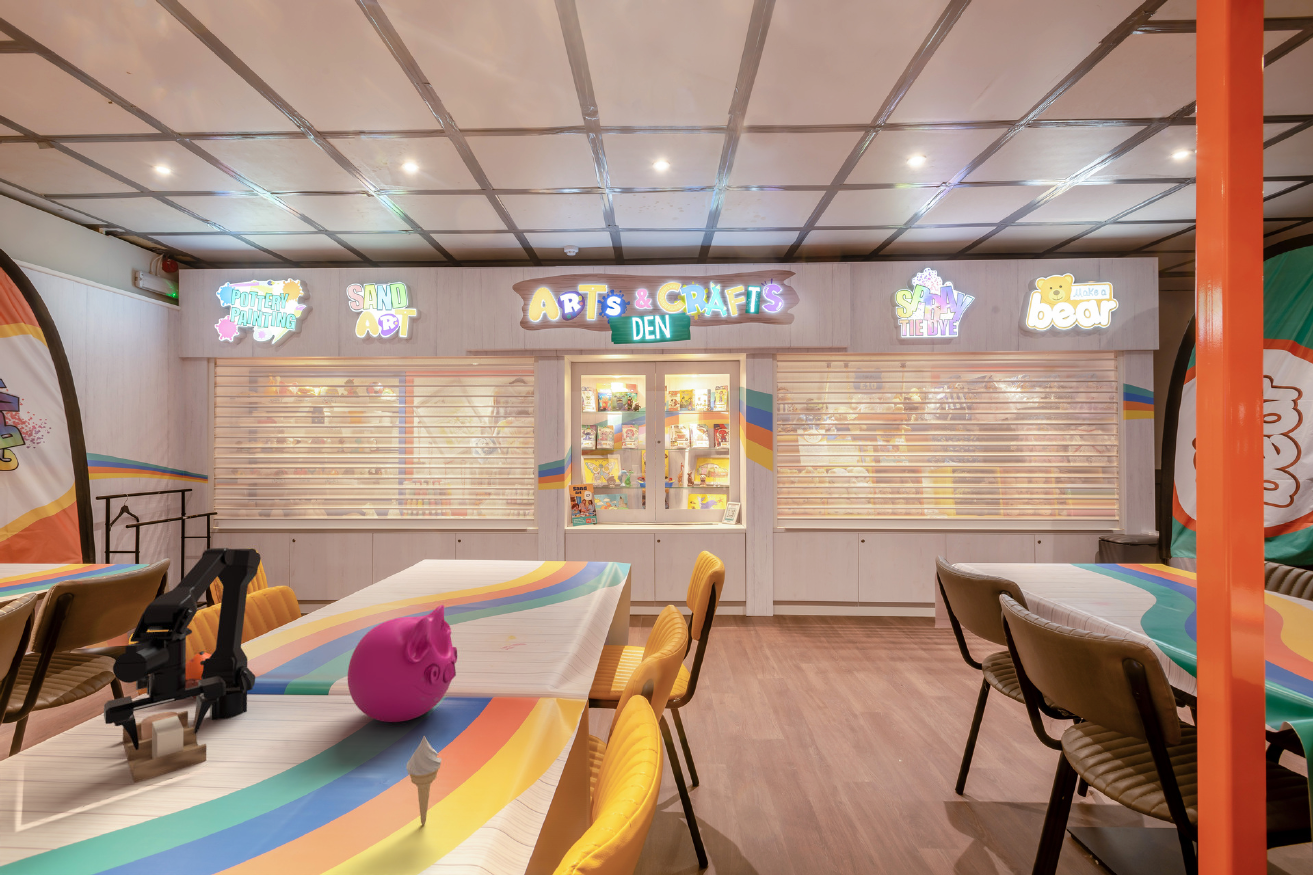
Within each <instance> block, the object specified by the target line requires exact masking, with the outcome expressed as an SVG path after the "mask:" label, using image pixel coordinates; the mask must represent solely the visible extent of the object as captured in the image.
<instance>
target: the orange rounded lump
mask: <svg viewBox="0 0 1313 875" xmlns="http://www.w3.org/2000/svg"><path fill="white" fill-rule="evenodd" d="M212 654H213V653H208V652H205V651H204V650H203V651H199V652H197V654H195V655H194V656H193V657H192V658H191V659H189V660H188V661H187V662H186V681H185V689H187V688H191V687H195V686H198V683H199V680H201V678H202V677H201V676H202V673H203V663H204V661H205V659H206V658H209V657H210V656H211V655H212ZM192 699H195V700H196V696H194V697H192Z"/></svg>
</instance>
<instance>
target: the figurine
mask: <svg viewBox="0 0 1313 875" xmlns="http://www.w3.org/2000/svg"><path fill="white" fill-rule="evenodd" d="M451 635H452V628H451V626H450V624H449V623H448V622H447V621H446V620H445V605H444V604H441V605H439V606H437V607H436V608H435V609H433V610H432V612H430V613H429V614H426V615H421V616H403V617H402V616H401V617H396V618H392V619H389V620H387V621H383V622H382V623H379V624H378V625H376V626H374V627H373V628H371V629H370V630H369V631H368V632H367V633H366V634H365V635H364V636H363V637H362V638H361V639H360V640H359V641H358V643H357V645H356V646H355V648H354V650H353V652H352V655H351V657H350V660H349V664H348V670H347V686H348V691H349V694H350V697H351V698H352V701H353V703H354V704H355V706H356V708H358V710H360V712H361V713H363V714H365V715H366V716H368V717H369V718H372V719H374V720H377V721H381V722H385V723H400V722H405V721H410V720H413V719H416V718H419V717H420V716H422V715H425V714H426V713H428V712H429V711H431V710H432V709H433V708H434V707H436V706H437V704H438V703H440V702H441V700H443V697H444V696H446V695H445V694H447V691H448V690H449V687H450V685H451V682H452V680H453V679H454V678H455V677H456V676H457V672H456V663H457V661H458V649H457V646H453V641H452V637H451Z"/></svg>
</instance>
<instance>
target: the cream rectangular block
mask: <svg viewBox="0 0 1313 875" xmlns="http://www.w3.org/2000/svg"><path fill="white" fill-rule="evenodd" d="M182 750H183V726H182V724H181V722H180V720H179V719H178V717H177V716H174V717H170V718H166V719H162V720H158V721H154V722H152V758H153V759H154V758H158V757H161V756H165V755H168V754H172V753H175V752H179V751H182Z"/></svg>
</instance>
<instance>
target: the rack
mask: <svg viewBox="0 0 1313 875" xmlns="http://www.w3.org/2000/svg"><path fill="white" fill-rule="evenodd" d="M177 713H178V719H179V720H180V722H181V724H182V726H183V750H182V751H179V752H175V753H172V754H168V755H165V756H161V757H158V758H154V759H153V758H152V738H150V739H146V740H143V741H141V722H142V721H140V722H136V727H137V734H138V740H139V749H138V750H136V749H135V747H134V745H133V743H132V740H131V738H130V736H129V734H128V733H127V731H126V730H125V729H124V727H123V726H122V744H123V747H124V750H125V755H126V757H127V761H128V766H129V768H130V772H131V777H132V781H133V783H134V784H135V783H138V782H141V781H145V780H147V779H151V778H154V777H157V776H161V775H163V774H167V773H171V772H173V771H178V770H181V769H184V768H186V767H190V766H193V765H197V764H200V763H203V762H207V744H206V743H203V744H200V745H199V743H198V742H197V734H198V733H197V734H194V726H191V727H189V711H188V710H185V711H180V712H177Z"/></svg>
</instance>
